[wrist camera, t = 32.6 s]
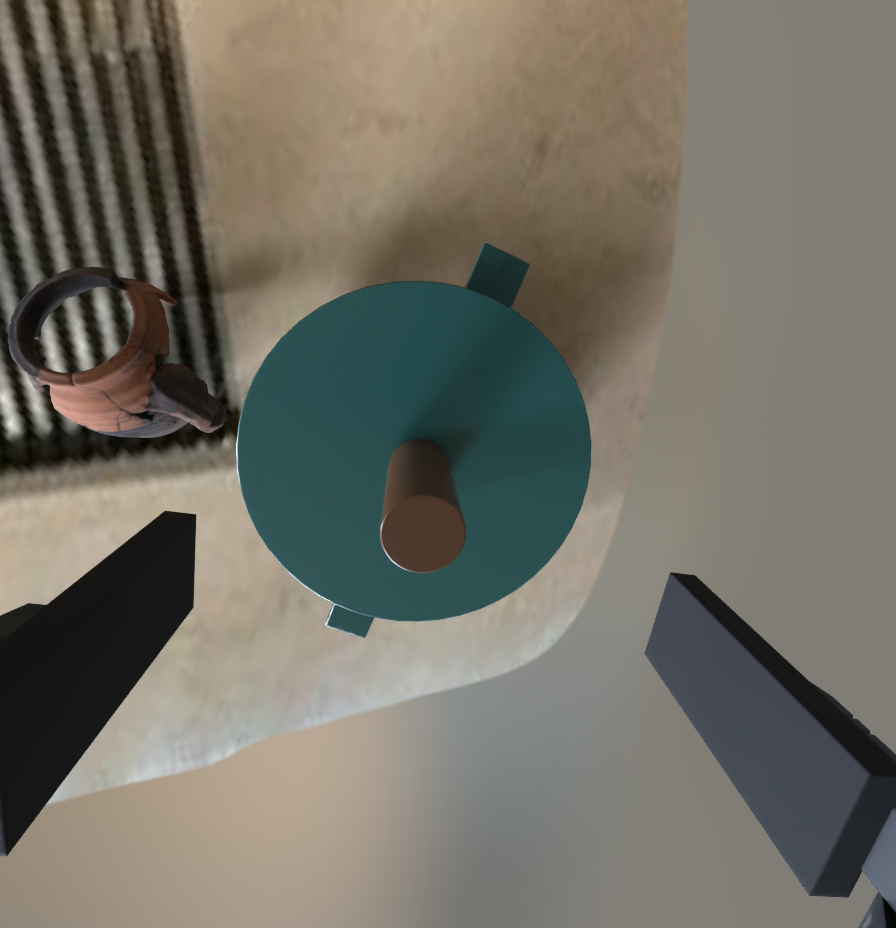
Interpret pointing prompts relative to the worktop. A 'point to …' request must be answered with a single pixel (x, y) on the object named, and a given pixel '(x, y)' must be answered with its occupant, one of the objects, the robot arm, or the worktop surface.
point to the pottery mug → (116, 364)
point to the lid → (413, 451)
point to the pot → (491, 278)
